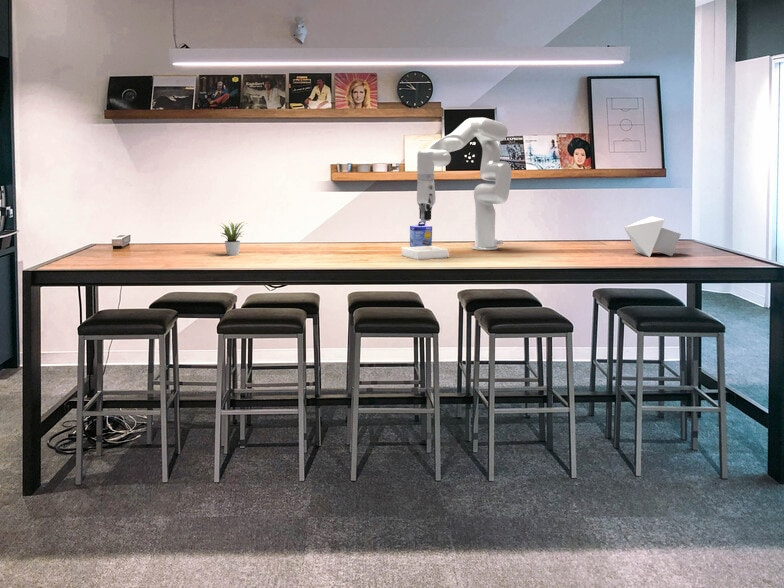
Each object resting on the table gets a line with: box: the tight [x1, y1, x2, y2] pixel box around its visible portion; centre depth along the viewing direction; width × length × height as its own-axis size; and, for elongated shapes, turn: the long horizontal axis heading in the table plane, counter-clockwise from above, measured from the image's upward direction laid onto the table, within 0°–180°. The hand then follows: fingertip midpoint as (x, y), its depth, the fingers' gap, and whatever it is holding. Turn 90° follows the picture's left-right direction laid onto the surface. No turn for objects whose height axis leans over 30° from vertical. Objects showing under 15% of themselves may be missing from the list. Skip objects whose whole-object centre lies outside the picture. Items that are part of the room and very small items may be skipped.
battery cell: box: [420, 204, 431, 222], centre depth 362 cm, size 4×4×8 cm
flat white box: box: [401, 245, 450, 261], centre depth 365 cm, size 16×16×4 cm
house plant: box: [219, 220, 248, 256], centre depth 371 cm, size 14×14×16 cm
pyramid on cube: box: [623, 215, 682, 258], centre depth 369 cm, size 17×24×18 cm
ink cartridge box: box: [409, 220, 433, 247], centre depth 383 cm, size 10×6×14 cm, turn 115°
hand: (425, 218), depth 362 cm, fingers closed on battery cell, 4 cm apart
